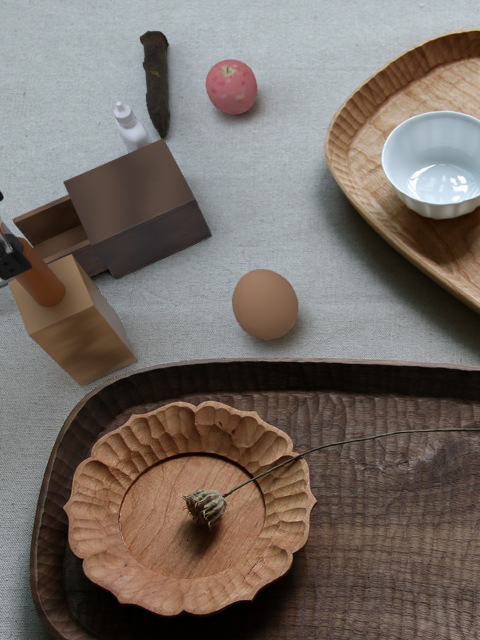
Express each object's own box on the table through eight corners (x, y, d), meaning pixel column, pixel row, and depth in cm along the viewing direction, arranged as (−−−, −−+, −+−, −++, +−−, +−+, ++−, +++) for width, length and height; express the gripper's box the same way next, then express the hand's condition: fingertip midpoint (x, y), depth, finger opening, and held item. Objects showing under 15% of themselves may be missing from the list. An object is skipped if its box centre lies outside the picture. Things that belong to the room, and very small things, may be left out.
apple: (264, 86, 125) (253, 45, 117) (260, 124, 122) (248, 85, 114) (217, 87, 125) (203, 46, 118) (211, 125, 122) (196, 85, 115)
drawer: (4, 322, 110) (-22, 297, 103) (-18, 265, 113) (-44, 237, 107) (131, 264, 112) (112, 236, 106) (105, 210, 116) (86, 180, 110)
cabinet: (116, 280, 112) (91, 245, 104) (88, 219, 117) (62, 181, 109) (212, 236, 115) (195, 198, 107) (181, 177, 119) (163, 137, 111)
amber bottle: (40, 312, 94) (-6, 262, 84) (30, 288, 95) (-16, 237, 85) (69, 298, 94) (27, 248, 84) (59, 275, 95) (17, 223, 86)
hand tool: (146, 50, 129) (135, 27, 124) (171, 47, 129) (161, 23, 124) (146, 145, 121) (135, 124, 117) (172, 142, 121) (162, 120, 117)
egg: (232, 316, 109) (210, 271, 99) (286, 287, 111) (270, 241, 100) (259, 363, 106) (240, 322, 96) (315, 333, 108) (302, 290, 97)
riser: (81, 387, 106) (28, 335, 92) (62, 339, 109) (7, 282, 95) (138, 360, 107) (93, 304, 94) (117, 314, 110) (71, 253, 96)
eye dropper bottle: (161, 144, 121) (133, 85, 110) (164, 174, 119) (136, 116, 108) (132, 150, 121) (101, 90, 110) (134, 179, 119) (103, 122, 108)
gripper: (-165, 71, 71) (-54, 192, 87) (-118, 215, 65) (-7, 317, 80) (-82, 38, 72) (13, 163, 88) (-28, 176, 66) (64, 284, 81)
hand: (3, 237), depth 84 cm, fingers open, 9 cm apart
